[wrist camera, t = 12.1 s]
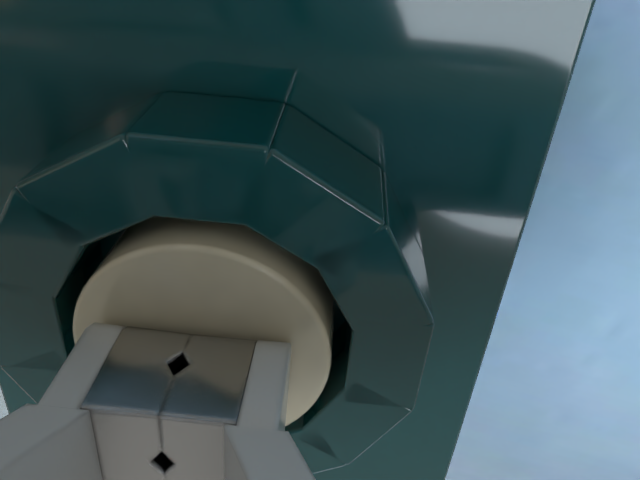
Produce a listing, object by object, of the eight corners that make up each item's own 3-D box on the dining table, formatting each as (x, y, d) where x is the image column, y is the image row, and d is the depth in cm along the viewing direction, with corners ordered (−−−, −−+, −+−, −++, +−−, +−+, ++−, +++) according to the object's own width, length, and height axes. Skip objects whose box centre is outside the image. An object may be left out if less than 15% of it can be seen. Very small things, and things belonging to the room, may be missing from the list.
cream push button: (99, 175, 9) (49, 231, 8) (346, 200, 9) (343, 261, 8) (125, 358, 11) (89, 430, 10) (326, 379, 11) (320, 454, 10)
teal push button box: (-22, -133, 10) (-304, -145, 6) (548, -79, 10) (687, -51, 6) (78, 365, 16) (-22, 532, 12) (425, 401, 16) (447, 583, 12)
